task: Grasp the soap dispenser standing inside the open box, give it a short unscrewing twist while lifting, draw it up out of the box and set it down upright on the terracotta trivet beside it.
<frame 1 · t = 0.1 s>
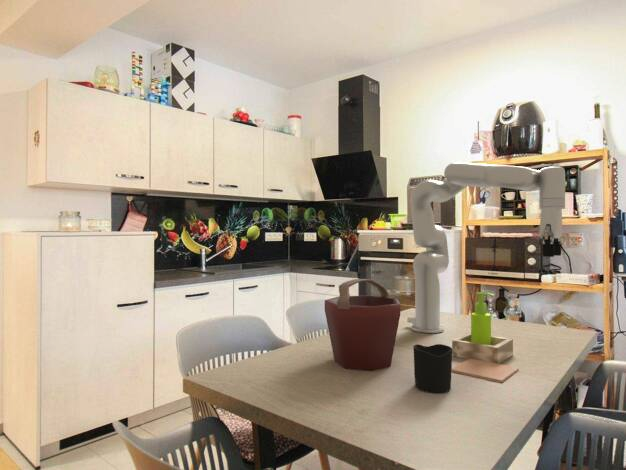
hand: (552, 256, 143), 31 cm above the table, tool pointing down, fingers open, 9 cm apart
pen holder: (432, 388, 108), on the table
soap dispenser: (482, 356, 137), resting in open box
open box: (482, 355, 137), on the table
bucket: (361, 362, 130), on the table
trivet: (484, 370, 121), on the table
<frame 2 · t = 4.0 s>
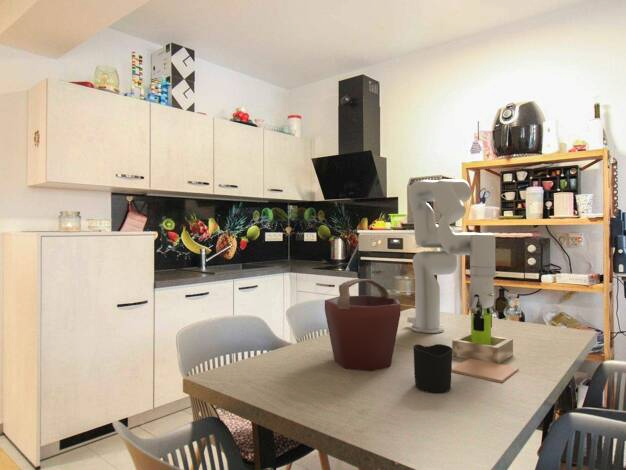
hand: (482, 328, 137), 9 cm above the table, tool pointing down, fingers closed on soap dispenser, 5 cm apart
soap dispenser: (482, 356, 137), resting in open box, touching gripper
everything else where it was.
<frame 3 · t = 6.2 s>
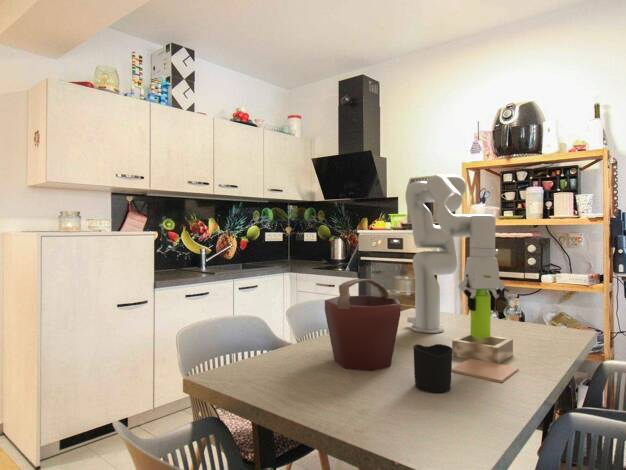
hand: (481, 309, 137), 15 cm above the table, tool pointing down, fingers closed on soap dispenser, 5 cm apart
soap dispenser: (481, 336, 137), point 6 cm above the table, touching gripper
everything else where it was.
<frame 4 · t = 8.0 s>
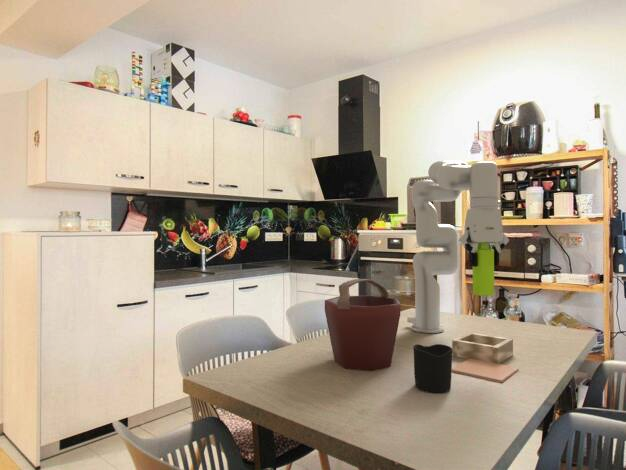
hand: (484, 265, 126), 29 cm above the table, tool pointing down, fingers closed on soap dispenser, 5 cm apart
soap dispenser: (484, 295, 126), point 21 cm above the table, touching gripper
everything else where it was.
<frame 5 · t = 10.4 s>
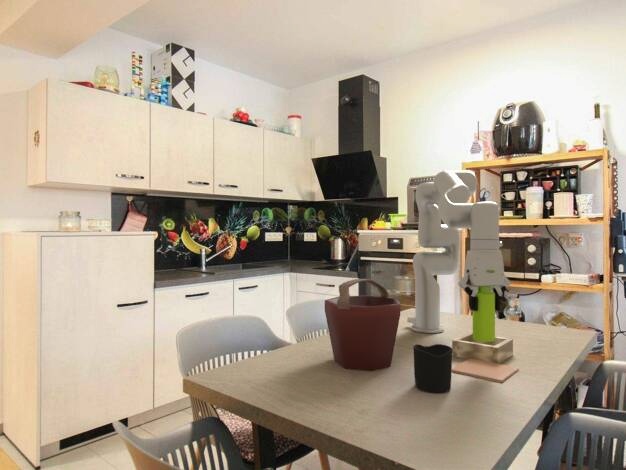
hand: (484, 309, 121), 17 cm above the table, tool pointing down, fingers closed on soap dispenser, 5 cm apart
soap dispenser: (484, 340, 121), point 9 cm above the table, touching gripper
everything else where it was.
when the fingers open (10 cm above the table, at t = 12.2 s): soap dispenser drops 1 cm, resting on trivet.
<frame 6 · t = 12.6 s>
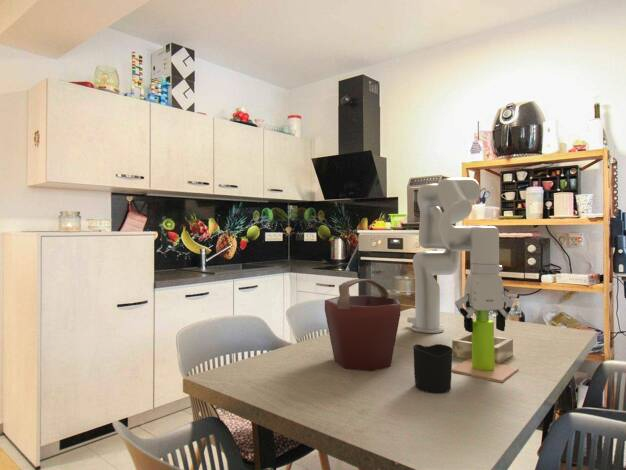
hand: (484, 330, 121), 11 cm above the table, tool pointing down, fingers open, 9 cm apart
soap dispenser: (484, 368, 122), resting on trivet
everything else where it was.
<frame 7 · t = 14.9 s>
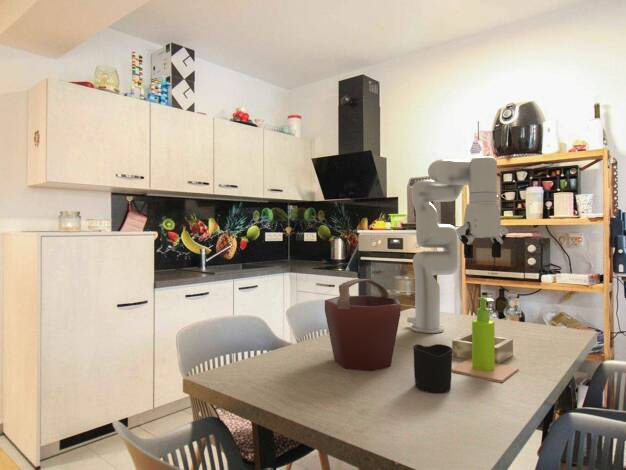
hand: (482, 257, 126), 32 cm above the table, tool pointing down, fingers open, 9 cm apart
nothing on the table moved.
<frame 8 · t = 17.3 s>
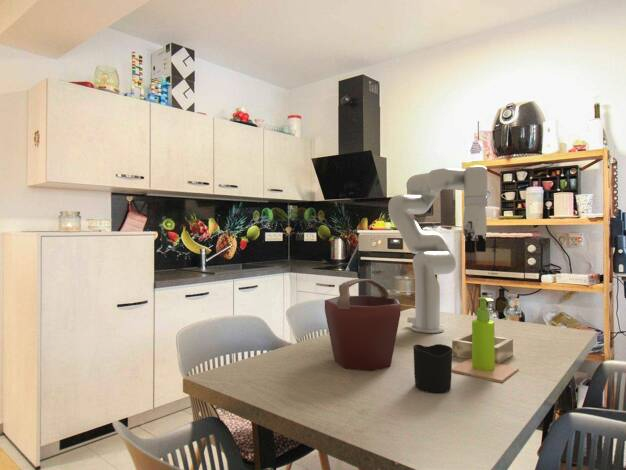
hand: (475, 252, 148), 32 cm above the table, tool pointing down, fingers open, 9 cm apart
nothing on the table moved.
at the end: soap dispenser inside the target area (0.2 cm from its centre), resting on trivet; soap dispenser tilted 0°; the gripper is holding nothing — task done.
